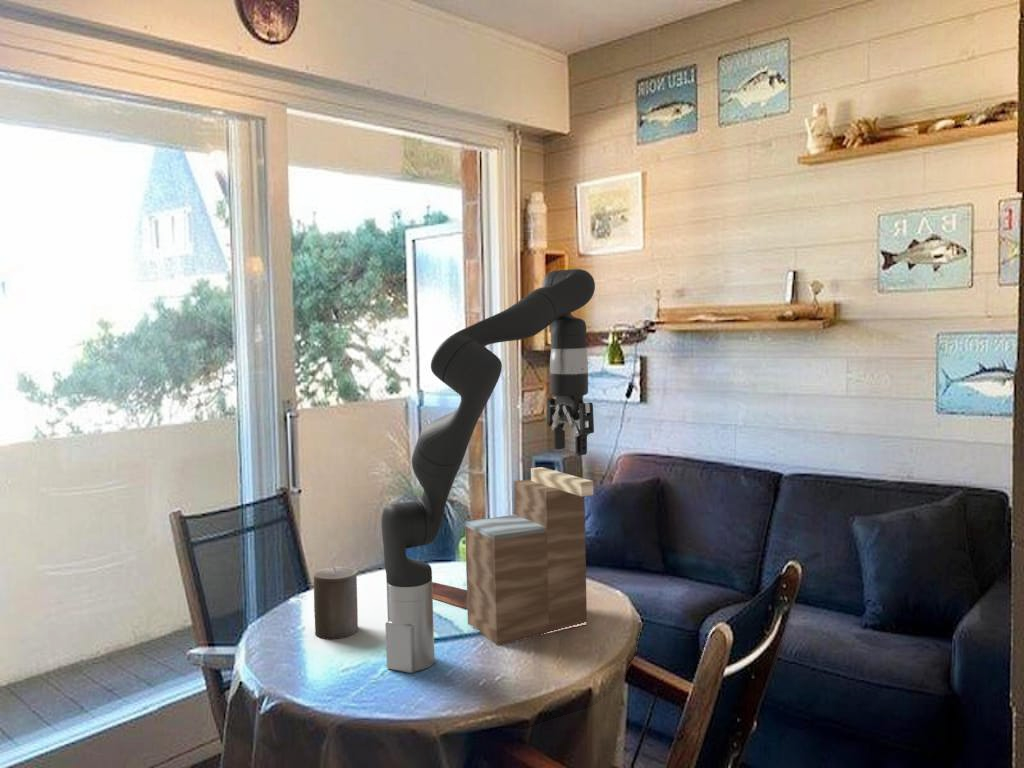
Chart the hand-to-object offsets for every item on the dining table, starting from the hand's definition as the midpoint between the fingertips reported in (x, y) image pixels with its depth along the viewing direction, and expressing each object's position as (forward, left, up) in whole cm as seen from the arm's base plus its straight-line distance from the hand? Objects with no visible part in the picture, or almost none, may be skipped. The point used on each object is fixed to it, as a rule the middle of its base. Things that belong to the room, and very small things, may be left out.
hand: (570, 451), depth 162 cm
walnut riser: (+15, +18, -43) cm, 49 cm away
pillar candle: (-6, +56, -43) cm, 71 cm away
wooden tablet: (+26, +45, -44) cm, 68 cm away
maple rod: (+17, +10, -11) cm, 22 cm away
